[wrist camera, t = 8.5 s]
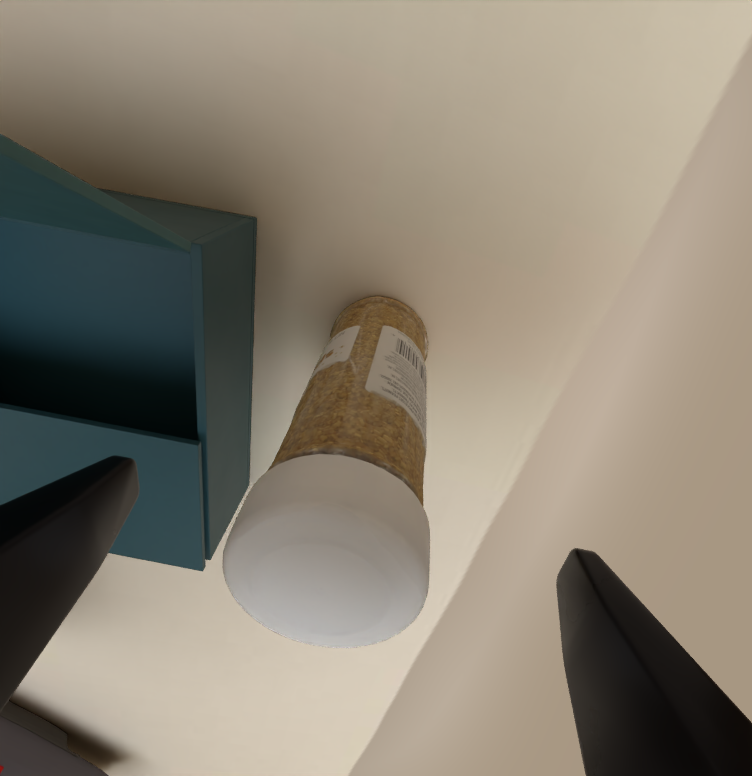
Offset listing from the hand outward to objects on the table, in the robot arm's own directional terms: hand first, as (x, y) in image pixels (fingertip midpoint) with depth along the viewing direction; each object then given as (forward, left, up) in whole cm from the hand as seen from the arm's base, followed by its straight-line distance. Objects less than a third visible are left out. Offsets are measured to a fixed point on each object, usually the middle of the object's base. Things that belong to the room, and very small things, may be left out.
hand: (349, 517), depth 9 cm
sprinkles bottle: (-2, 0, -13) cm, 13 cm away
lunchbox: (-5, +13, -13) cm, 19 cm away
